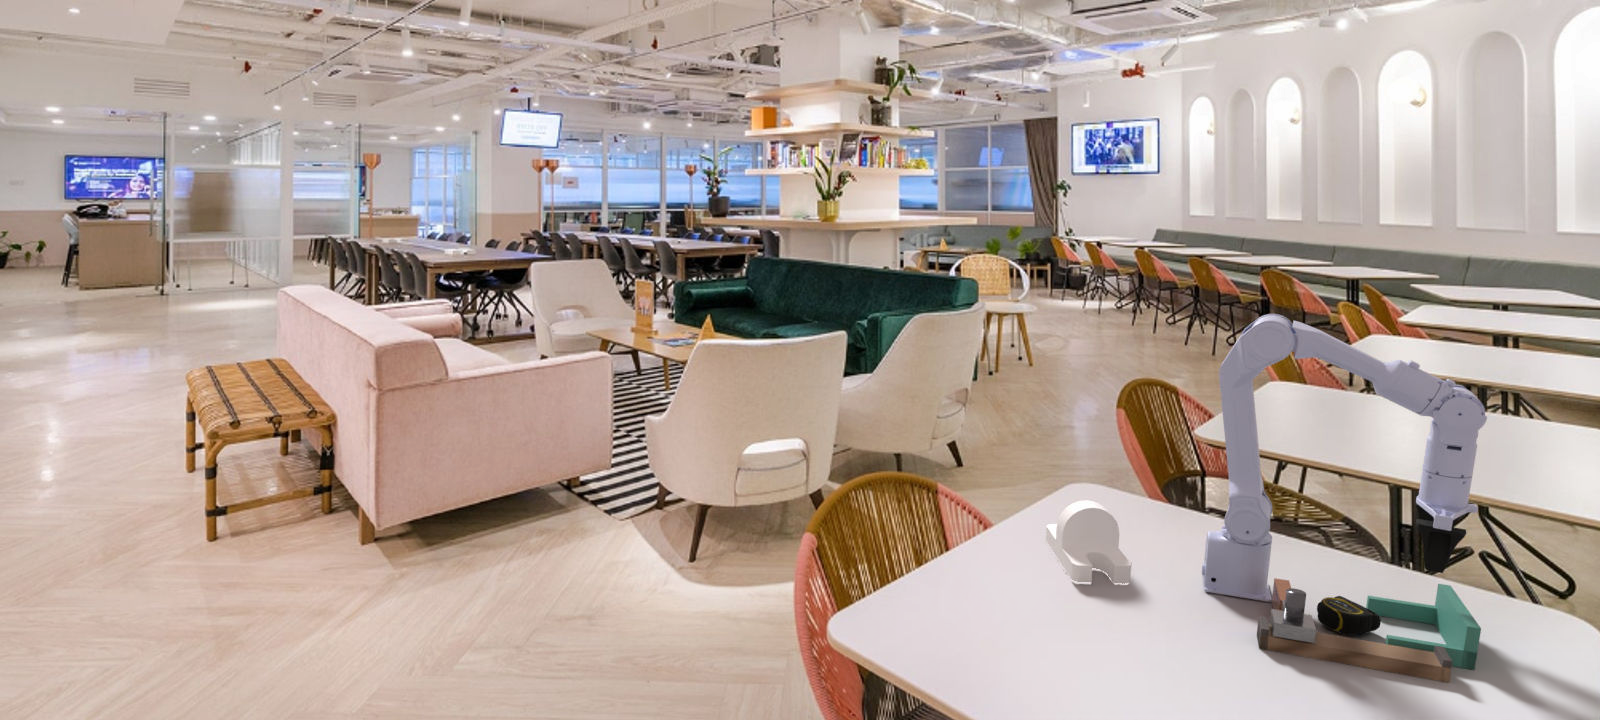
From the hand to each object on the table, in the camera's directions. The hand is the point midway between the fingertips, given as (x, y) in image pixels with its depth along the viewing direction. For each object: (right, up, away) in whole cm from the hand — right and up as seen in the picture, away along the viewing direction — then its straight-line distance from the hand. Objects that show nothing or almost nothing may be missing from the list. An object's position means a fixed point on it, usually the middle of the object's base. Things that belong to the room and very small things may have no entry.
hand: (1433, 561), depth 126 cm
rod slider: (-21, -10, +1) cm, 23 cm away
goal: (-4, -11, -2) cm, 11 cm away
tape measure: (-12, -10, +2) cm, 16 cm away
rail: (-17, -12, -7) cm, 22 cm away
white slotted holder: (-43, -6, +24) cm, 49 cm away
